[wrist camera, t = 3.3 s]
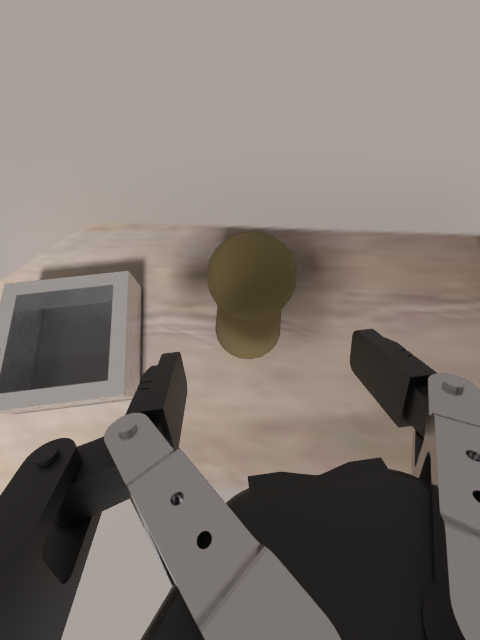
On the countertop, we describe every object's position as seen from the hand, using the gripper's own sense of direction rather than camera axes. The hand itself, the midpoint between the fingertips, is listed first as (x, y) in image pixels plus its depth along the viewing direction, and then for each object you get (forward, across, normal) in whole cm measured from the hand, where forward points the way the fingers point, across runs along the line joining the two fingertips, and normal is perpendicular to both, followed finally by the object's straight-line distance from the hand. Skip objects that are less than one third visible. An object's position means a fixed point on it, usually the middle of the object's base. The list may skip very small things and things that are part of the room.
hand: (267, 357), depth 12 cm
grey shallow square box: (+11, +15, +4) cm, 19 cm away
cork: (+11, 0, +4) cm, 12 cm away
